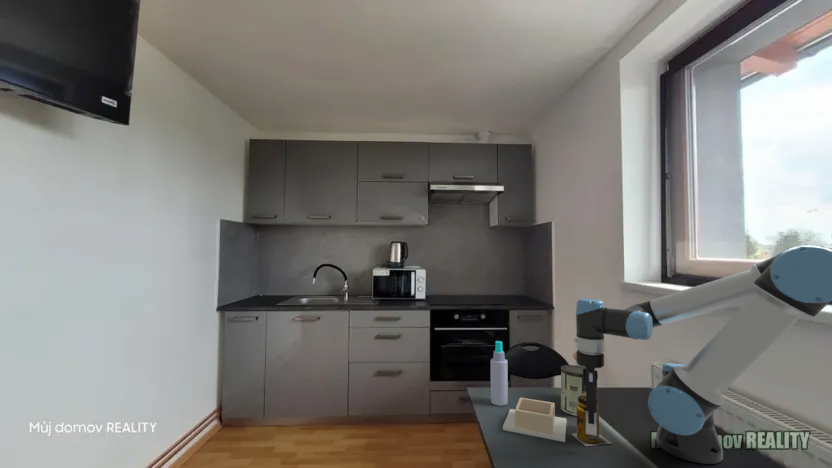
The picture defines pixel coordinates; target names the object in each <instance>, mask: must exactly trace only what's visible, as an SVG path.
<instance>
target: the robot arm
mask: <svg viewBox="0 0 832 468" xmlns="http://www.w3.org/2000/svg"><path fill="white" fill-rule="evenodd" d="M830 302H832V248H828V247H824V246H822V245H818V244H799V245H795V246H791V247H788V248H786V249H785V250H783V251H782V252H779V253H778V254H776V255H775V256H772V257H770V258H768V259H765V260H762V261H759V262H756V263H754V264H753V265H752V267H751V269H748V270H747V269H746V270H744V271H741V272H738V273H734V274H731V275H729V276H725V277H721V278H719V279H716V280H712V281H709V282H705V283H702V284H699V285H696V286H693V287H689V288H687V289H683V290H679V291H677V292H673V293H670V294H667V295H663V296H660V297H657V298H654V299H651V300H649V301H648V300H647V301H644V302H642V303H636V304H633V305H631V306H630V307H627V308H625V309H617V308H611V307H610V308H609V307H606V306H605V302H604V301H603V300H601V299H596V298H580V299H578V300H577V301H576V310H575V320H576V321H575V323H576V324H575V325H576V327H575V328H576V338H574V339H573V341H574V342H575V343H576V349H577V350H576V351H577V352H576V360H575V362H576V361H577V363H578V364H579V365H581V366H585V369H583V378H584V386H585V391H586V392H585V395H586V408H584V407H583V411H586V434H590V435H595V436H597V424H596V412H597V409H596V399H597V392H598V391H597V388H598V379H599V378H598V377H599V375H598V373H599V372H598V370H595V369H602V368H604V366H605V354H604V353H605V335H608V336H609V335H610V336H615V337H622V338H627V339H628V338H629V339H632V340H642V341H648V340H650V339H651V338H652V337H651V336H652V334H653V330H654V329H653V328H657V327H660V326H664V325H668V324H671V323H675V322H679V321H682V320H685V319H690V318H694V317H697V316H701V315H706V314H709V313H714V312H716V311H720V310H724V309H729V308H732V307H736V306H739V305H742V306H741V307H740V308H739V309H738V310H737V311H736V312H735V313H734V315H733V316H732V317H730V319H729V320H728V321H727V322H726V323H725V324H724V325H723V326H722V327H721V328H720V329H719V330H718V331H717V332H716V333H715V334H714V336H713V337H712V338H711V339H710V340H709V341H708V342H707V343H706V344H705V345H704V346H703V347H702V349H701V350H699V351H698V352H697V354H695V356H694V357H692V359H691V360H690V361H689V362H688V363H687V364H682V363H672V362H670V363H669V362H667V363H664V364H663V365H662V369H661V373H662V378H661V379H662V380H661V381H660V382H658V384H657V385H656V387H654V388H653V389H651V391H650V392H649V395H648V399H647V406H648V410H649V413H650V415H651V417H652V418H653V420H654V421H655V422H656V423H657V424H658V425H659V426H658V429H657V431H656V443H657V442H658V444H657V445H658V447H659V448H661V449H662V451H664V452H666V453H667V454H670V455H671V456H674V457H676V458H679V459H681V460H685V461H688V462H693V463H696V464H705V465H715V464H719V463H721V462H722V461H723V460H724V450H723V447H722V443H721V441H720V439H719V436H718V434H717V431H716V429H715V428H716V427H715V417H714V416H715V415H714V413H715V412H716V411H717V410H719V408H721V406H722V405H724V397H723V395H722V394H723V392H724V391H726V390H727V389H728V388H729V387H730V386H731V385H732V384H733V383H734V382H735V381H736V380H737V379H738V378H739V377H740V376H741V375H742V374H743V373H745V371H747V370H748V368H749V367H750V366H751V365H753V363H755V362H756V360H758V359H759V358H760V357H761V356H762V355H763V354H764V353H765V352H766V351H767V350H768V349H769V348H770V347H771V346H772V345H773V344H775V342H776V341H778V339H779V338H780V337H782V336H783V334H784V333H786V332H787V330H789V329H790V328H791V327H792V326H793V325H794V324H795V323H796V322H797V321H798V320H799V319H813V318H814V317H816V316H817V315H818V314H819V313H820V312H821V311H822V310H823V309H825V307H827V306H828V305H829V303H830ZM589 406H591V407H589ZM593 407H594V408H593Z"/></svg>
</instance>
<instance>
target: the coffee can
mask: <svg viewBox="0 0 832 468" xmlns="http://www.w3.org/2000/svg"><path fill="white" fill-rule="evenodd" d="M583 369H585V367H582V366H576V364H574V365H573V364H566V365H562V366H560V371H561V372H560V375H561V376H560V409H561V411H563V412H564V413H566V414H568V415H571V416H575V417H577V405H578V397H579V396H582V395H585V392H586V391H585V386H584V378H583Z"/></svg>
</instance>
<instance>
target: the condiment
mask: <svg viewBox="0 0 832 468" xmlns="http://www.w3.org/2000/svg"><path fill="white" fill-rule="evenodd" d="M598 406H599V405H598V399H597V398H596V409H597V412H596V424H597V436H595V435H590V434H586V411H583V407H584V408H586V395H582V396H579V397H578V405H577V416H576V433H571V435H572V436H573V437H574V438H575V439H576V440H577V441H578V442H579V443H581V444H582V445H584V446H585V447H593V446H595V447H596V446H600V445H609V444H610V445H611V444H612V442H611V441H609V440H608V439H607V438H605V437H603V435H601V434H600V410H599V408H598ZM589 407H591V406H589ZM593 408H594V407H593Z"/></svg>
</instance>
